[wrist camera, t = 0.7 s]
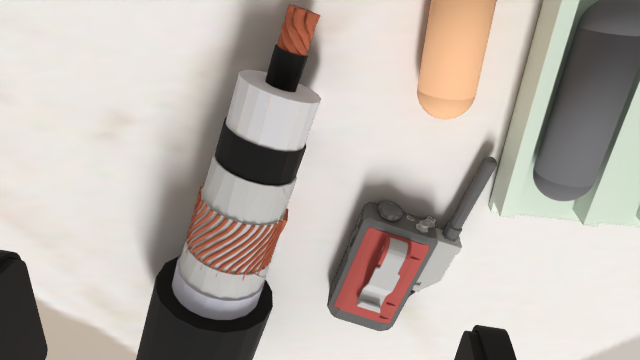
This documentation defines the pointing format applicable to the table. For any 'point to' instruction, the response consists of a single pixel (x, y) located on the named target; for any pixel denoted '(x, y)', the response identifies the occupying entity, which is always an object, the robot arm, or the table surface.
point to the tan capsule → (453, 55)
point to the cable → (238, 214)
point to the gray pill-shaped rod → (589, 99)
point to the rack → (529, 126)
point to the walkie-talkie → (396, 258)
